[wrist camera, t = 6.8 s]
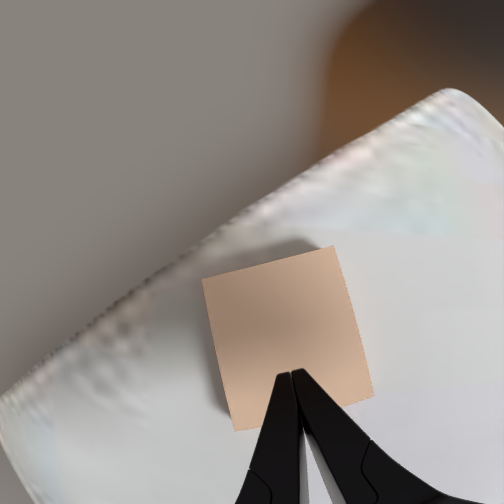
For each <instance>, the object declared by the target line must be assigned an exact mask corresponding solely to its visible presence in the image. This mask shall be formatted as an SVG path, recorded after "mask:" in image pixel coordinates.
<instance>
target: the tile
mask: <svg viewBox="0 0 504 504" xmlns="http://www.w3.org/2000/svg"><path fill="white" fill-rule="evenodd" d="M201 281H202V286H203V292H204V297H205V302H206V307H207V312H208V317H209V322H210V327H211V332H212V337H213V342H214V346H215V351H216V355H217V360H218V364H219V369H220V373H221V378H222V382H223V386H224V390H225V394H226V399H227V403H228V407H229V411H230V415H231V419H232V422H233V426H234V430H235V431H240V430H247V429H252V428H258V427H262V424H263V421H264V417H265V414H266V410H267V407H268V403H269V400H270V396H271V393H272V389H273V386H274V382H275V378H276V375H277V374H279V373H283V372H287V371H289V372H290V373H291V371H292V370H295V369H299V368H304V369H305V370H306V371H307V372H308V373H309V374H310V375H311V376H312V377H313V378H314V379H315V381H316V382H317V383H318V384H319V385H320V386H321V387H322V388H323V389H324V390H325V391H326V392H327V393H328V395H329V396H330V397H331V398H332V399H333V400H334V401H335V402H336V403H337V404H338V405H339V406H340V407H343V406H346V405H349V404H352V403H355V402H358V401H361V400H364V399H367V398H370V397H373V396H374V393H373V388H372V383H371V379H370V374H369V370H368V366H367V362H366V357H365V353H364V349H363V345H362V341H361V337H360V334H359V330H358V326H357V322H356V319H355V315H354V311H353V308H352V304H351V301H350V297H349V294H348V291H347V287H346V284H345V281H344V277H343V274H342V271H341V268H340V264H339V261H338V258H337V255H336V252H335V249H334V246H330V247H326V248H322V249H318V250H315V251H311V252H307V253H303V254H299V255H295V256H291V257H287V258H283V259H279V260H275V261H271V262H267V263H263V264H260V265H256V266H252V267H248V268H244V269H239V270H235V271H231V272H227V273H223V274H219V275H215V276H211V277H207V278H203V279H201Z"/></svg>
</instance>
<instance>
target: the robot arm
mask: <svg viewBox="0 0 504 504" xmlns="http://www.w3.org/2000/svg"><path fill="white" fill-rule="evenodd" d="M302 424H303V425H302ZM303 428H304V430H303ZM304 432H305V435H306V438H307V440H308V443H309V445H310V448H311V450H312V453H313V456H314V458H315V461H316V463H317V466H318V468H319V471H320V473H321V476H322V478H323V481H324V483H325V486H326V488H327V491H328V493H329V496H330V498H331V501H332V503H333V504H483V503H478V502H473V501H469V500H464V499H460V498H456V497H452V496H449V495H447V494H444V493H442V492H440V491H438V490H436V489H435V488H433V487H431V486H430V485H428V484H427V483H425V482H424V481H422V480H421V479H419V478H418V477H417V476H415V475H414V474H412V473H411V472H409V471H408V470H406V469H405V468H404V467H402V466H401V465H400V464H398V463H397V462H396V461H395V460H393V459H392V458H391V457H390V456H389V455H388V454H386V453H385V452H384V451H383V450H382V449H381V448H380V447H379V446H378V445H377V444H376V443H375V442H374V441H373V440H370V437H369V436H368V435H367V434H366V433H365V432H364V431H363V430H362V429H361V428H360V427H359V426H358V425H357V424H356V423H355V422H354V421H353V420H352V419H351V418H350V417H349V416H348V415H347V413H346V412H345V411H344V410H343V409H342V408H341V407H340V406H339V405H338V404H337V403H336V402H335V401H334V400H333V399H332V398H331V397H330V396H329V395H328V393H327V392H326V391H325V390H324V389H323V388H322V387H321V386H320V385H319V384H318V383H317V382H316V381H315V379H314V378H313V377H312V376H311V375H310V374H309V373H308V372H307V371H306V370H305V369H304V368H299V369H295V370H292V371H291V373H290V372H289V371H287V372H283V373H279V374H277V375H276V378H275V382H274V386H273V389H272V393H271V396H270V400H269V403H268V407H267V410H266V414H265V417H264V421H263V424H262V427H261V431H260V434H259V437H258V441H257V444H256V447H255V450H254V453H253V457H252V460H251V463H250V466H249V470H248V472H247V475H246V478H245V481H244V483H243V486H242V488H241V491H240V494H239V496H238V498H237V500H236V502H235V504H309V490H308V475H307V461H306V448H305V436H304Z"/></svg>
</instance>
